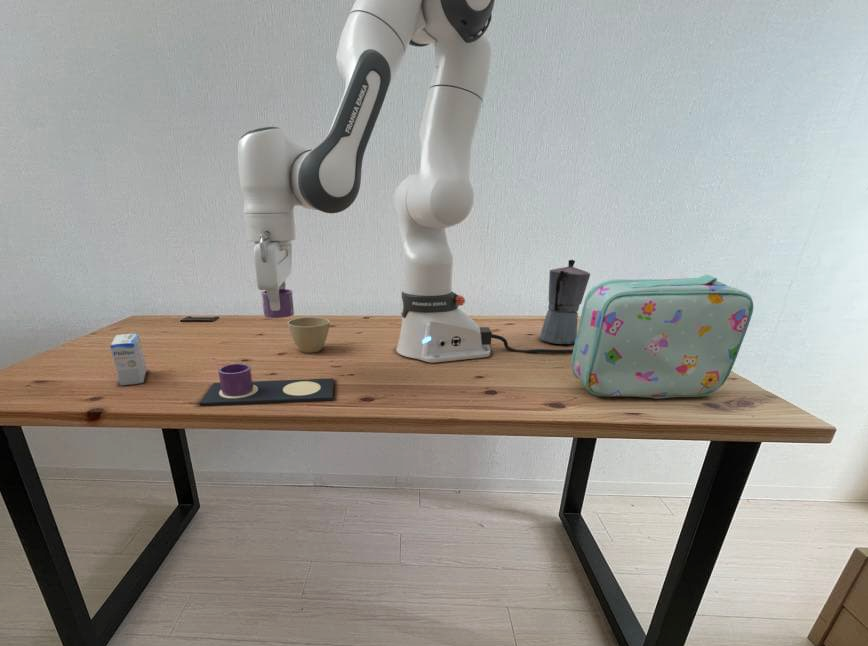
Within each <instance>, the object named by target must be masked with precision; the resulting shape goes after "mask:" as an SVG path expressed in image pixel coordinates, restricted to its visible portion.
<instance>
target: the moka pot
mask: <svg viewBox="0 0 868 646" xmlns="http://www.w3.org/2000/svg"><path fill="white" fill-rule="evenodd" d="M575 263H576V260H575V259H568V266H565V267H559V268H558V267H557V268H553V269H550V270H549V276H548V277H549V278H548V281H549V282H548V307H547V309H548V310H547V312H546V315H545V318H544V321H543V325H542V328H541V331H540V334H539V339H540V340H541V341H543V342H544V343H550V344H555V345H573V344H575V341H576V337H577V333H578V320H579V319H578V317H579V313H578V311H579V309H580V305H581V304H582V302H583V299H584V297H585V296H584V295H585V292H586V289H587V286H588V284H589V280H590V277H591V273H590V272H589V271H586V270H583V269H580V268H578V267H575Z"/></svg>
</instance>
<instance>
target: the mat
mask: <svg viewBox="0 0 868 646" xmlns="http://www.w3.org/2000/svg"><path fill="white" fill-rule="evenodd" d="M334 379H335V378H331V377H329V378H308V379H307V378H305V379H281V380H278V379H277V380H255V381H254V380H253V391H252V392H250V393H248V394H246V395H242V396H226V395H223V394H222V390H221V385H220V382H213V383H212V384H211V386H210V388H208V390H207V391H206V393H205V395H204V396H203V397H202V399H201V400H200V401H199V406H201V407H203V406H205V407H207V406H226V405H227V406H229V405H253V404H277V403H297V402H298V403H300V402H322V401H323V402H324V401H325V402H326V401H333V400H334V384H335V383H334V381H335V380H334Z"/></svg>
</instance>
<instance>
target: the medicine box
mask: <svg viewBox="0 0 868 646" xmlns="http://www.w3.org/2000/svg"><path fill="white" fill-rule="evenodd" d="M109 347H110V351H111V355H112V359H113V363H114V366H115V371H116V375H117V378H118V382H119V385H120V386H130V385H131V386H132V385H139V384H143V383H144V382H145V377H146V373H147V365H146V360H145V356H144V352H143V347H142V343H141V338H140V335H139V333H123V334H116V335H115V336H114V338H113V340H112V342H111V344H110V346H109Z"/></svg>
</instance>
